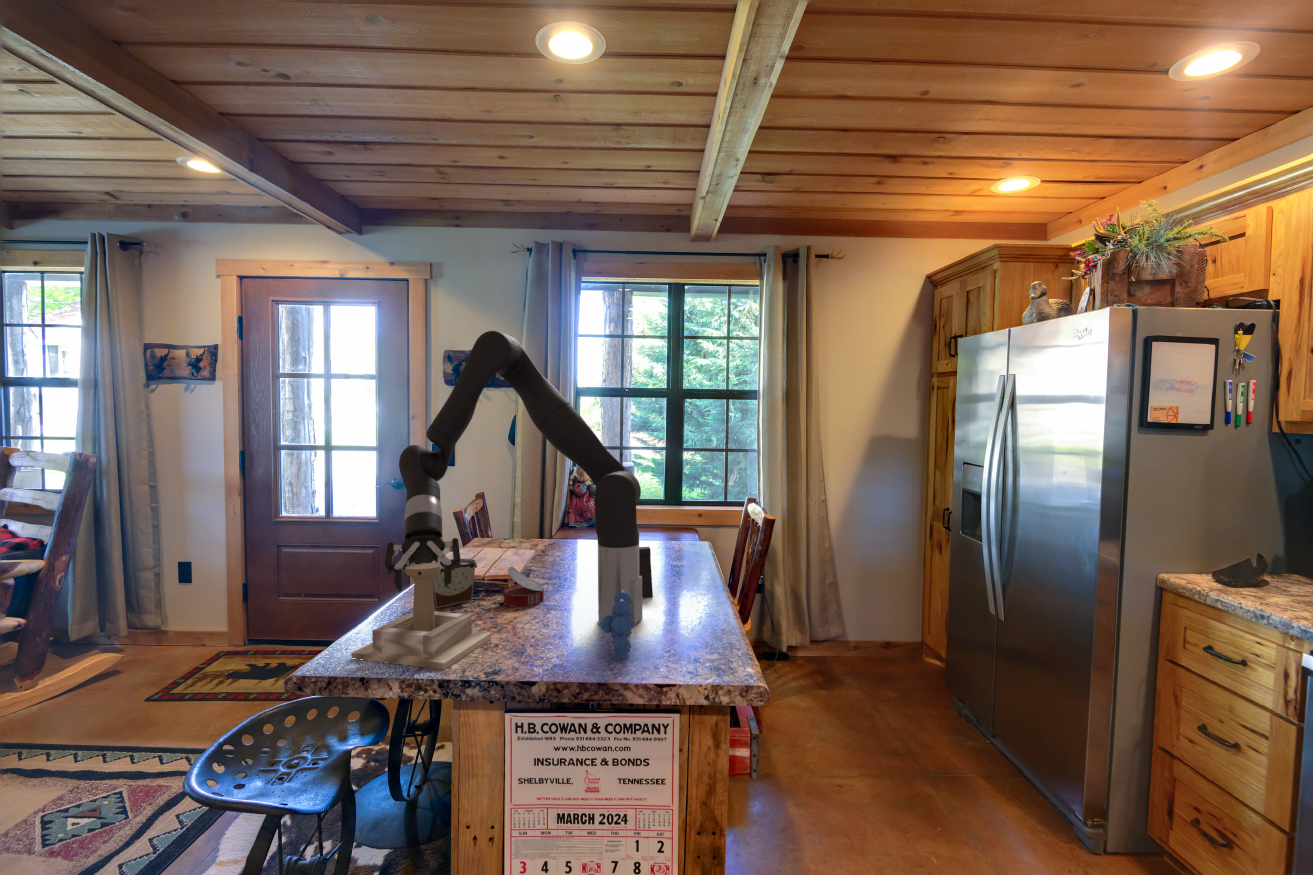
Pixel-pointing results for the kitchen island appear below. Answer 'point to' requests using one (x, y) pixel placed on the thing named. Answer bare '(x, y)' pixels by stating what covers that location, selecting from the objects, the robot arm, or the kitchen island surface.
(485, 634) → the socket stand
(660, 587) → the kitchen island surface
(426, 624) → the handle
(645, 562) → the door stopper
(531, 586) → the canned food
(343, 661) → the kitchen island surface
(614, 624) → the grapes
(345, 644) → the kitchen island surface
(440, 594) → the food container
